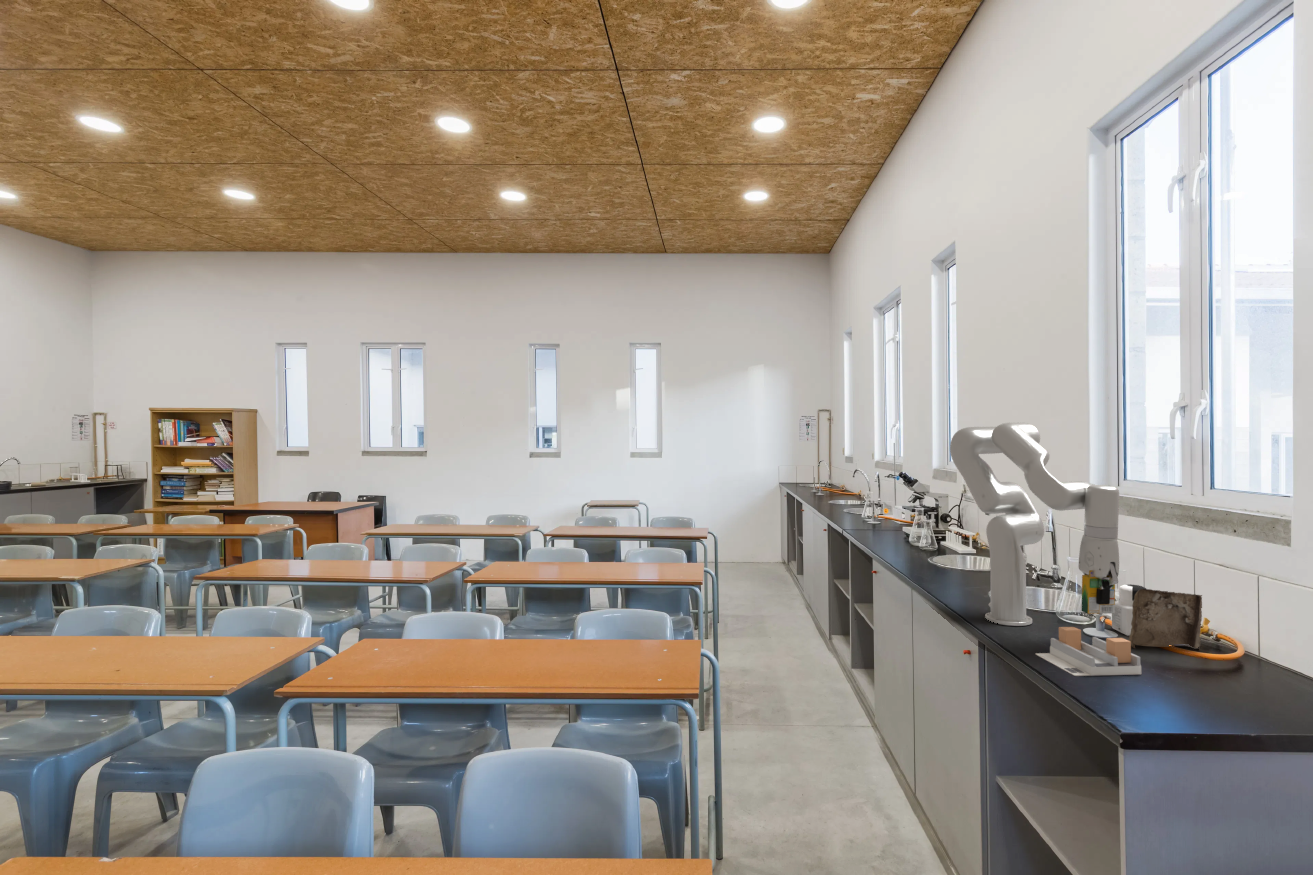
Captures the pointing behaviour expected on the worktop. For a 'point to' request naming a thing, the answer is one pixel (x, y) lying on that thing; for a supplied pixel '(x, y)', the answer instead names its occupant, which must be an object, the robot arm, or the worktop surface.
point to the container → (1124, 608)
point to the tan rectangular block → (1070, 636)
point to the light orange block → (1119, 649)
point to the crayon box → (1090, 594)
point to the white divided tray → (1089, 659)
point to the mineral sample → (1165, 618)
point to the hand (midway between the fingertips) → (1098, 601)
